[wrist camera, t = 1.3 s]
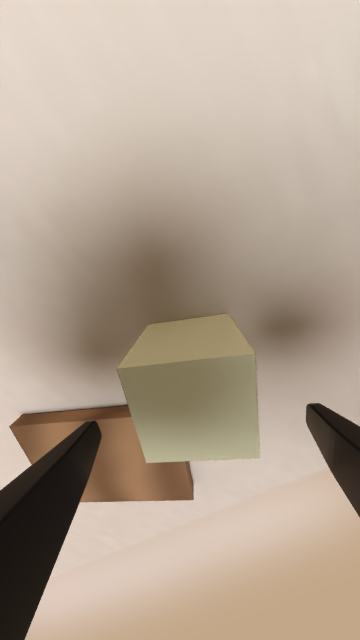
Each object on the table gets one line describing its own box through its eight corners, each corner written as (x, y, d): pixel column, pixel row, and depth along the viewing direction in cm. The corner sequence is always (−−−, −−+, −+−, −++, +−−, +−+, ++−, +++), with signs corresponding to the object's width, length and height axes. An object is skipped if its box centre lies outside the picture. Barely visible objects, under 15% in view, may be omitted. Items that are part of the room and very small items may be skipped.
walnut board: (175, 401, 14) (174, 413, 13) (193, 484, 17) (193, 500, 16) (22, 414, 16) (9, 426, 15) (62, 488, 19) (54, 502, 18)
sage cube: (227, 312, 12) (255, 353, 7) (234, 382, 13) (260, 458, 8) (148, 324, 12) (116, 368, 7) (163, 388, 14) (146, 463, 9)
